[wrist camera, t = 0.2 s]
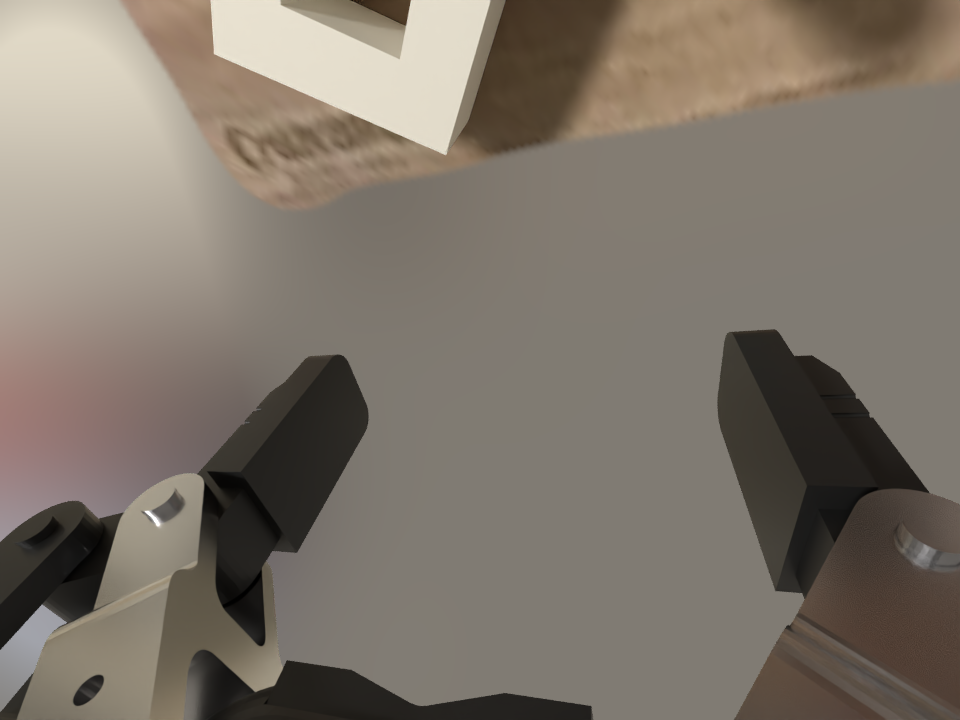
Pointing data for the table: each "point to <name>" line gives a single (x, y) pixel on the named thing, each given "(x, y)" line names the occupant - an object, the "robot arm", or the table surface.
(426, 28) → the socket block
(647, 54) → the table surface
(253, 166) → the table surface
